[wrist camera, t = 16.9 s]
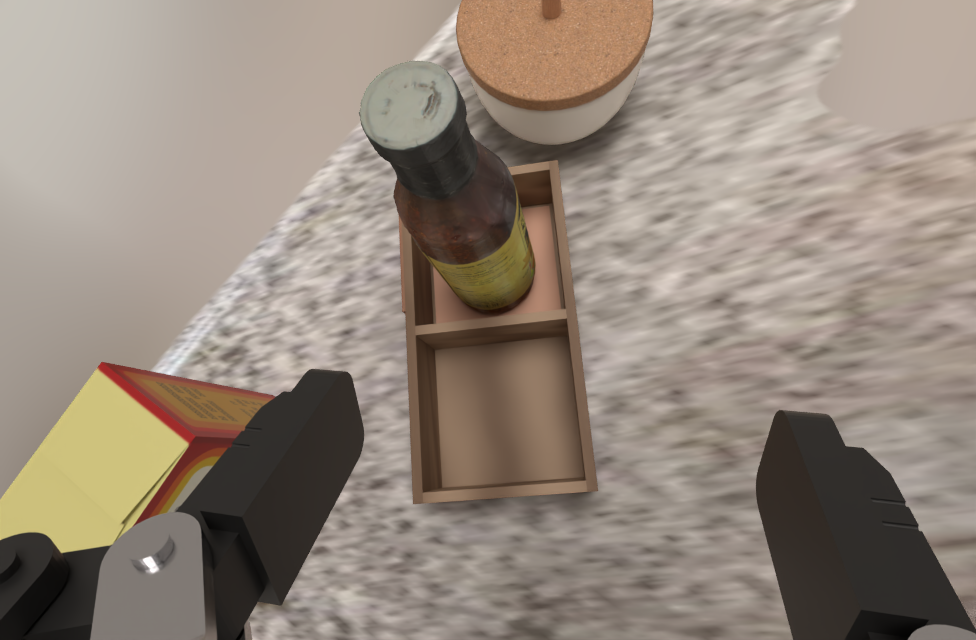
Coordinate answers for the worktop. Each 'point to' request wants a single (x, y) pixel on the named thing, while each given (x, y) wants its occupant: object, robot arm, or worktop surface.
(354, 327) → the worktop surface
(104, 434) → the baking soda box
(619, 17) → the white lidded bowl
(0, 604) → the robot arm
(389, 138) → the sauce bottle
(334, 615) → the worktop surface
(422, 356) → the wooden compartment tray
